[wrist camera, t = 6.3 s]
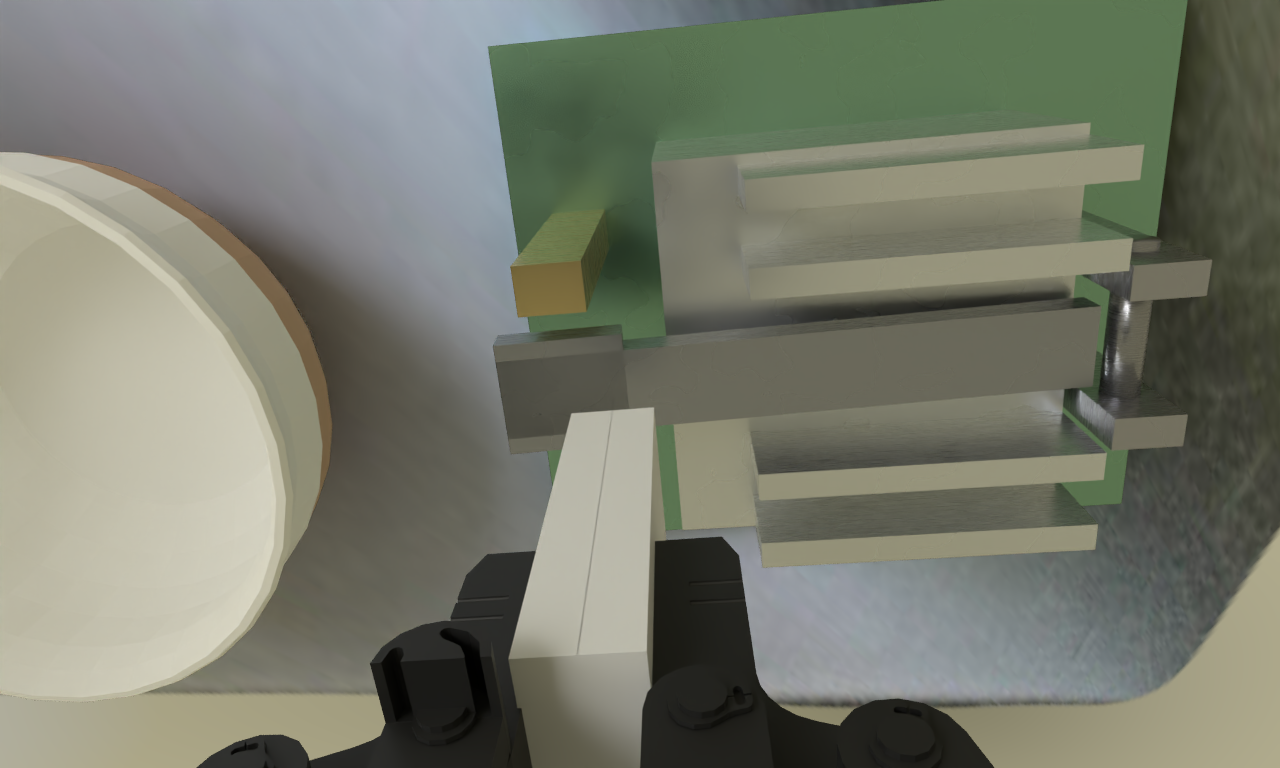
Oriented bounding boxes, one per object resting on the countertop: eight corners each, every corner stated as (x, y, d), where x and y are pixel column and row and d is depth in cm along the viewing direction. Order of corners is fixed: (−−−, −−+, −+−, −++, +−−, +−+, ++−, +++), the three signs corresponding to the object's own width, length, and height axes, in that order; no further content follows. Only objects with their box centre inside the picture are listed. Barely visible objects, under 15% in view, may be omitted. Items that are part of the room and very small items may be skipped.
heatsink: (565, 514, 31) (524, 683, 22) (498, 46, 25) (410, 43, 17) (1100, 482, 29) (1266, 649, 21) (1160, -21, 24) (1422, -62, 15)
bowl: (-121, 94, 26) (-432, 110, 19) (385, 153, 26) (272, 191, 19) (-26, 531, 32) (-235, 673, 25) (387, 579, 32) (301, 735, 25)
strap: (514, 440, 21) (510, 454, 20) (497, 335, 20) (492, 346, 19) (1073, 389, 21) (1090, 401, 20) (1085, 281, 20) (1103, 289, 19)
